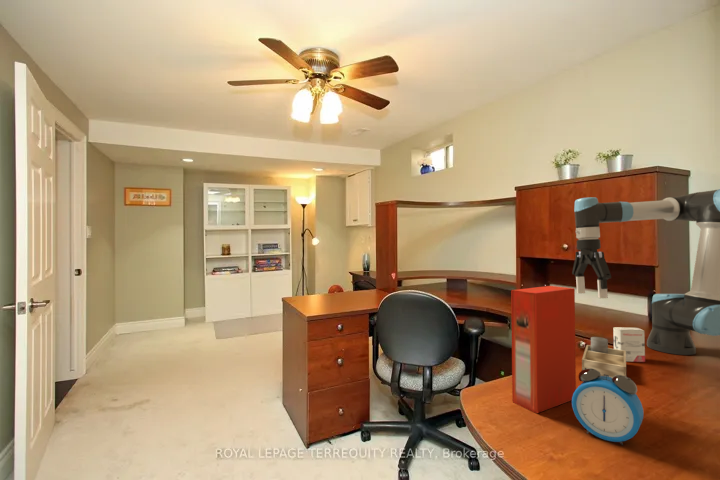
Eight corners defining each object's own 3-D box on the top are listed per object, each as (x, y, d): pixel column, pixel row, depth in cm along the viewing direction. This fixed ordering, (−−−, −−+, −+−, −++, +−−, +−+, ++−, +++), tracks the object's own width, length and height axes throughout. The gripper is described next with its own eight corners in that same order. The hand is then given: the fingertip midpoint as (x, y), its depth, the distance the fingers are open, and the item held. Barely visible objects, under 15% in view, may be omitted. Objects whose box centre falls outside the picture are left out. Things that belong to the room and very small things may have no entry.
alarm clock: (571, 429, 85) (571, 368, 85) (578, 420, 89) (578, 361, 89) (639, 453, 76) (639, 384, 76) (644, 441, 80) (644, 376, 80)
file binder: (511, 401, 100) (511, 289, 100) (549, 388, 108) (549, 285, 108) (537, 414, 93) (537, 293, 92) (575, 399, 101) (575, 288, 101)
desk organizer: (625, 364, 128) (625, 339, 128) (626, 382, 112) (626, 354, 112) (586, 357, 135) (586, 334, 135) (581, 374, 119) (581, 347, 119)
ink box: (636, 357, 135) (636, 326, 135) (645, 362, 130) (645, 330, 130) (612, 357, 136) (612, 326, 136) (620, 361, 131) (620, 329, 131)
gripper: (560, 240, 144) (563, 291, 144) (598, 238, 119) (602, 300, 119) (579, 239, 144) (582, 291, 143) (621, 237, 119) (625, 300, 118)
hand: (591, 295), depth 131 cm, fingers open, 13 cm apart
